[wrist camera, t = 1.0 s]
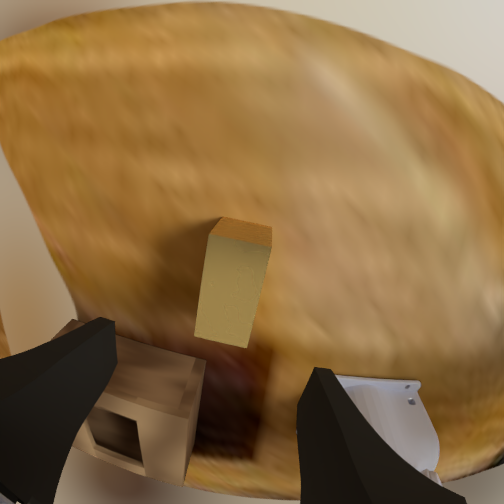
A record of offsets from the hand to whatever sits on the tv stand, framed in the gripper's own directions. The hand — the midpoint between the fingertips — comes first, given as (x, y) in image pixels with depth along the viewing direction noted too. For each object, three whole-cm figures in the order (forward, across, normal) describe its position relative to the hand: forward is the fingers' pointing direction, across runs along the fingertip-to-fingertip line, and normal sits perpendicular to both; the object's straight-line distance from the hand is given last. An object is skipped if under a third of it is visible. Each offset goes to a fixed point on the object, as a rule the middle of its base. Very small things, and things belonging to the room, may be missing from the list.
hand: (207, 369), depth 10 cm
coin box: (+9, +7, +14) cm, 18 cm away
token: (+10, 0, 0) cm, 10 cm away
